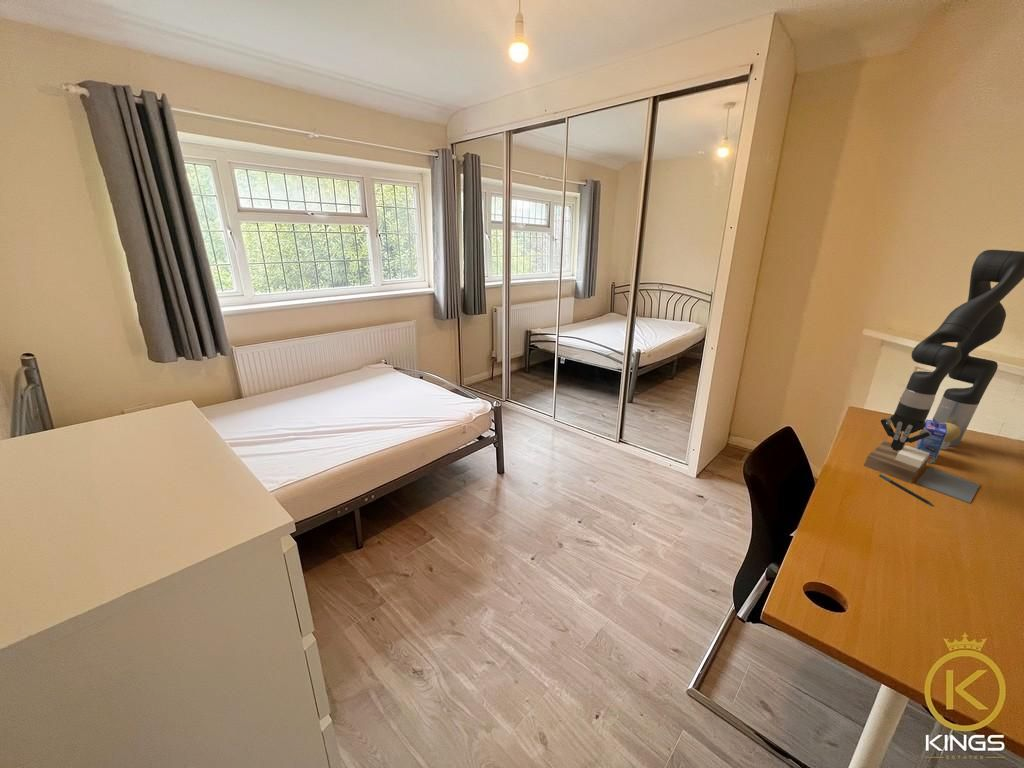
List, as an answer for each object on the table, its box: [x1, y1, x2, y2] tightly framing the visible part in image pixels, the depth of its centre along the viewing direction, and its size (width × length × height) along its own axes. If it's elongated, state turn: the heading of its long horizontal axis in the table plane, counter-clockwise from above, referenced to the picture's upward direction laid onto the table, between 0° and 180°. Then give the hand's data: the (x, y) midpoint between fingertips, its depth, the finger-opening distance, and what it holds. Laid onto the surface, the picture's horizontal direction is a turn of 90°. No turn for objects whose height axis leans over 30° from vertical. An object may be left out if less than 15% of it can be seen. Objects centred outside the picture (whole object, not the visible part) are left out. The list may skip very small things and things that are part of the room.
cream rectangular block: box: [895, 445, 930, 468], centre depth 133 cm, size 9×6×2 cm, turn 125°
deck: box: [863, 440, 930, 483], centre depth 137 cm, size 18×12×4 cm, turn 125°
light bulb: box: [940, 423, 961, 450], centre depth 147 cm, size 6×6×10 cm
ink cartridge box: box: [914, 416, 947, 464], centre depth 141 cm, size 10×6×14 cm, turn 136°
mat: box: [915, 466, 981, 504], centre depth 127 cm, size 16×12×1 cm
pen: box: [878, 474, 934, 507], centre depth 124 cm, size 1×16×1 cm, turn 10°
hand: (895, 449), depth 136 cm, fingers closed
